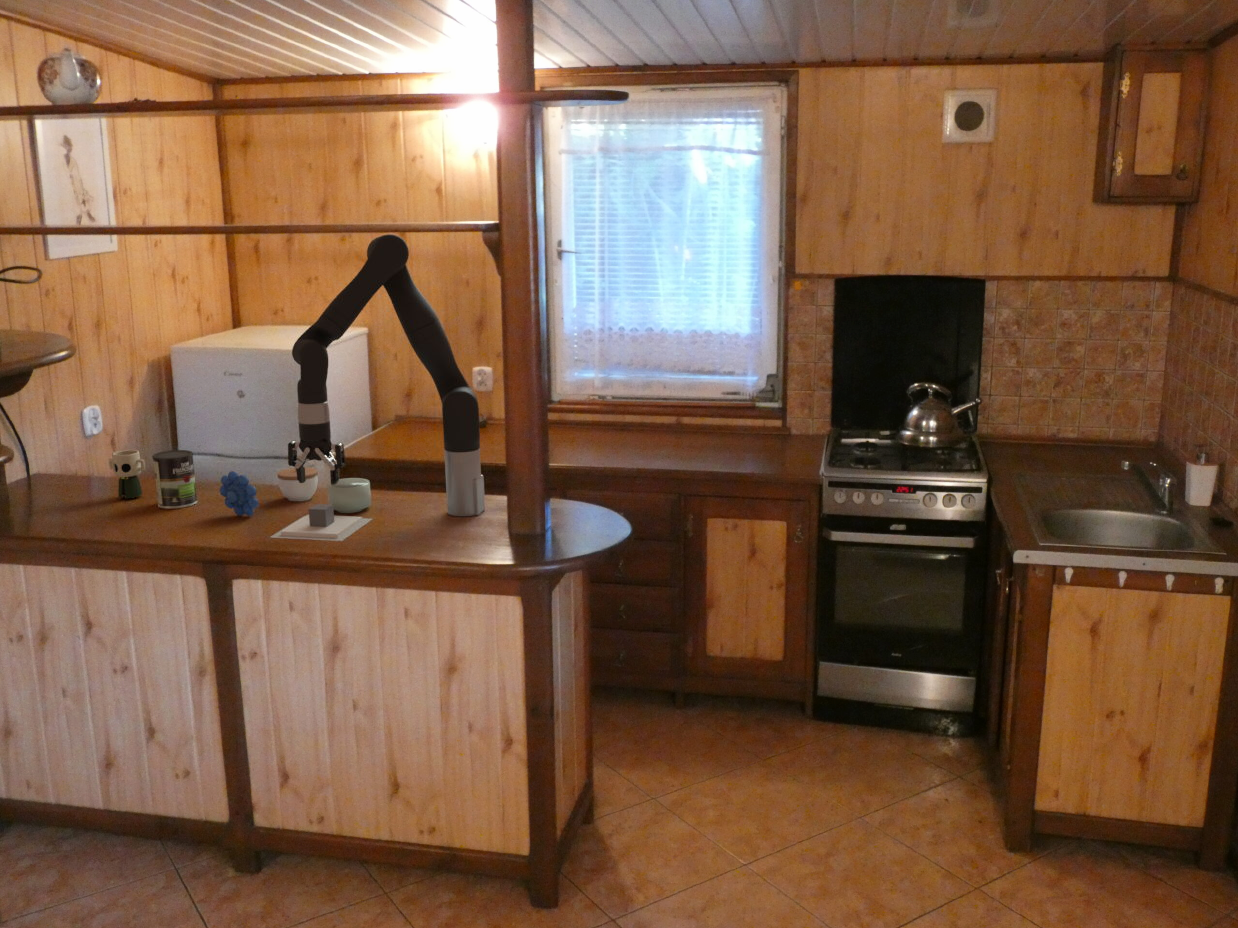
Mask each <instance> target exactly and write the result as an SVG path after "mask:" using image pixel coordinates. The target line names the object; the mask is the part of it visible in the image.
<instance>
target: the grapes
mask: <svg viewBox="0 0 1238 928" xmlns="http://www.w3.org/2000/svg"><path fill="white" fill-rule="evenodd" d="M220 482H221V486H220V487H219V493H220V495H221V496H222V497H224V498H225V499H224V505H225V506H226V508H228V509H233V512H234V514H236V516H240V517H241V516H243V515H245V516H247V517H250V516H253V515H254V511H255V509H256V508H258V507H259V500H258V498H256V495H257V489H256V487H255V486H254V485H252V484H249V483H250V480H249V477H248V476H246V475H244V474H241V475H239V474H238V472H236V471H233V470H232V471H229V473H228V474H227V475H226V474H225V475H222V476H221V478H220Z"/></svg>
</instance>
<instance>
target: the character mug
mask: <svg viewBox="0 0 1238 928" xmlns="http://www.w3.org/2000/svg"><path fill="white" fill-rule="evenodd" d="M108 465H109V469H110V470H112V471H113V474H114V475H115V476H116V477H117V478H118V489H117V490H118V498H119V499H123V496H124V498H125V500H127V499H136V498H138V497H140V496H142V495H143V490H142V485H141V482H140V478H139V476H138V475H140V474H142V471H143V472H144V471H146V463H145V459H142V458H141V456H140V451H139V450H138V449H124V450H117V451H114V452H112V454H111V457H109V458H108ZM135 497H136V498H135Z"/></svg>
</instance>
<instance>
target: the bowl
mask: <svg viewBox="0 0 1238 928" xmlns="http://www.w3.org/2000/svg"><path fill="white" fill-rule="evenodd" d="M326 486H327V497H328V498H327V501H328V505H333V511H336V512H337V513H341V514H354V513H358V512H363V510H365V509H366V508H368V507H370V506H371V505H372V498H371V497H372V495H371V482H370V480H369V479H367V478H362V477H361V478H360V477H348V478H346V477H345V478H339V481H338V482H337V484H335V485H331V481H330V482H328V483H327V485H326Z"/></svg>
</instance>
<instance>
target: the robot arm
mask: <svg viewBox="0 0 1238 928" xmlns="http://www.w3.org/2000/svg"><path fill="white" fill-rule="evenodd" d="M409 250H410V249H409V247H408V244H407V242H406V240H405V239H403V238H402V237H401V236H398V234H397V235H396V234H391V233H389V234H383V235H380V236H377V237H375V238H373V239H372V240H371V241H370V242H369V244H368V245H367V249H366V257H367V259H366V261H365V263H364V265H363V266H362V267H361V268H360V270H359V272H358V273H356V274H355V276H354V277H353V278H352V280H351V281H350V282H349V283H348V284H347V285H346V286H345V287H344V288H342V290H341V291H340V292H339V293H338V294H337V295H336V296H335V297H334V299H333V300H332V301H331V302H330V303H329V304H328V306H327V307H326V308H325V309H324V311H323V312H322V313H321V315H319V317H318V318H317V320H316V321H315V322H314V323H313V324H312V325H310V327H308V328H307V329H306V330H305V331H304V332H303V333H302V334H301V335H300V336H299V337H298V338H297V339H296V341H295V342H294V343H293V346H292V349H291V356H292V358H293V360H294V362H295V363H296V364H298V365H299V368H300V379H299V380H298V381H297V385H296V386H297V389H296V390H297V403H298V404H297V420H298V433H299V434H298V437H299V441H297V440H293V441H290V442H288V444H287V464H288V466H289V467H293V468H296V471H297V480H298V481H299V483H304V482H305V481H306V478H305V467H306V466H304V465H305V464H306V463H307V461H308V460H309V461H318V462H321V461H323V463H324V464H325V465H327V466H328V468H329V469H330V471H329V473H330V475H329V476H330V482H331V485H335V484H337V482H338V481H339V479H340V473H339V472H340V471H339V470H340V469H341V468H343V467H345V466H346V464H347V463H346V455H345V454H346V453H345V447H344V446H345V445H344V443H343V442H339V443H333V442H332V441H331V439H332V435H331V434H332V432H331V420H330V419H331V418H330V407H329V403H328V402H329V401H328V387H327V380H328V371H329V355H328V354H329V353H328V350H327V348H328V347H330V345H331V344H332V343H333V342H335V341H338V340H339V339H341V338H342V337H343V336H344V334H345V333H346V332H347V331H348V330H349V328H351V325H353V323H354V322H355V320H356V319H357V317H359V315H360V314H361V312H362V311H363V310H364V309H365V307H366V305H368V303H369V302H370V300H371V299H372V298H373V297H374V295H376V293H377V292H378V291H379V290H380V288H382V287H383V289H385V291H386V293H387V295H388V297H389V300H390V302H391V303H392V306H393V309H394V311H395V314H396V316H397V318H398V320H399V322H400V325H401V327H402V330H403V332H404V334H405V336H406V337H407V340H408V342H409V344H410V346H411V348H412V350H413V351H414V353H415V354H416V356H417V358H418V359H419V360H420V362H421V364H422V365H423V366H424V368H425V369H426V371H427V372H428V373H429V375H430V377H431V379H432V380H433V382H434V383H433V384H434V385H435V387H436V390H437V392H438V393H437V394H438V395H439V399H440V401H441V407H442V411H441V412H442V413H441V414H442V430H443V432H442V433H443V448H444V451H443V452H444V466H445V467H444V468H445V470H444V471H445V487H446V488H445V490H446V492H445V493H446V509H447V514H448V515H449V516H454V517H471V516H479V515H481V513H482V512H483V511H485V509H486V503H485V502H486V501H485V480H484V478H485V477H484V474H482V468H481V467H482V466H481V443H480V442H481V439H480V438H481V434H480V433H481V432H480V411H479V410H480V409H479V407H480V406H479V401H478V398H477V396H476V394H475V392H474V391H473V390H472V388H471V386H470V385H469V383H468V381H467V380H466V378H465V376H464V375H463V373H462V372H461V370H460V368H459V366H458V364H457V361H456V359H455V355H454V353H453V350H452V347H451V344H450V342H449V339H448V335H447V334H446V331H445V329H444V327H443V325H442V322H441V320H440V319H439V317H438V315H437V313H436V310H434V308H433V307H432V305H431V303H429V301H428V300H427V298H426V297H425V296H424V295H423V294H422V293H423V292H421V291H420V289H419V288H418V287H417V285H416V284H415V282H414V280H413V278H412V276H411V273H410V271H409V269H408V266H407V262H408V261H409V255H410V251H409ZM298 450H300V451H301V452H302V453H301V455H300V456H299V458H298ZM332 450H333V453H335V456H334V455H333V453H332V452H331V451H332ZM335 458H336V459H335Z"/></svg>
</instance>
